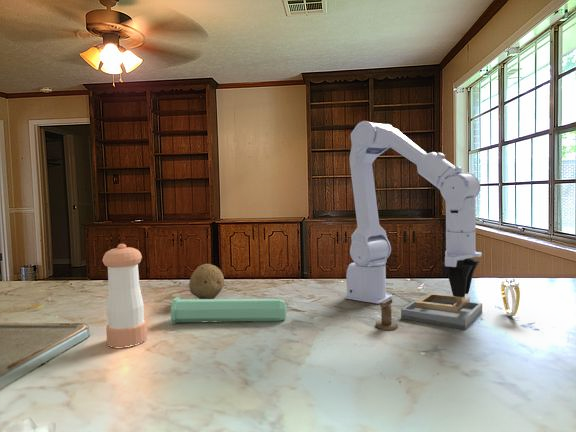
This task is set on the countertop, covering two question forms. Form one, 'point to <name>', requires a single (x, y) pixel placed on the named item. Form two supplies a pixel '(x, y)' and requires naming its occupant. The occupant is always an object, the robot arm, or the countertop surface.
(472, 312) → the tray
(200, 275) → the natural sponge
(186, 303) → the container
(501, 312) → the countertop surface
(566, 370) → the countertop surface
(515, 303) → the ring
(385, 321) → the brown stamp
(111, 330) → the salt shaker
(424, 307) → the wooden frame with post
